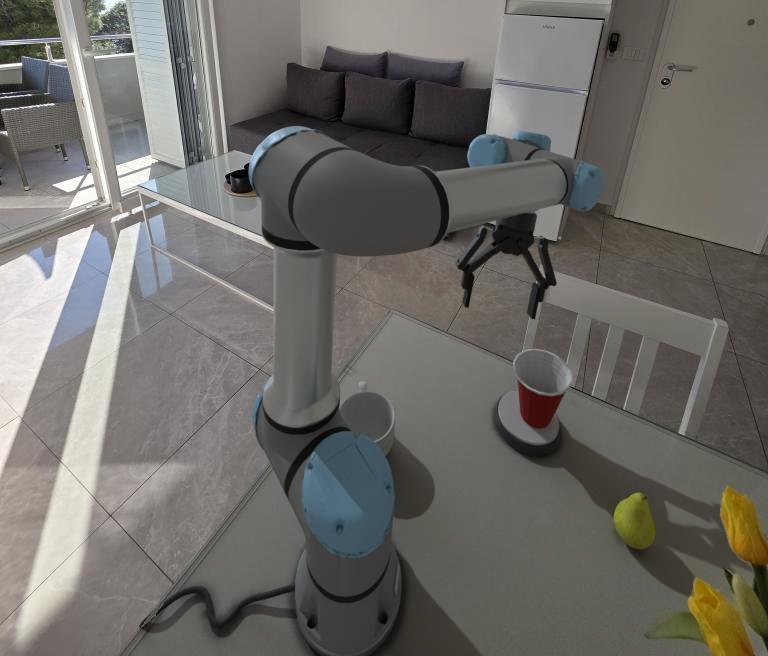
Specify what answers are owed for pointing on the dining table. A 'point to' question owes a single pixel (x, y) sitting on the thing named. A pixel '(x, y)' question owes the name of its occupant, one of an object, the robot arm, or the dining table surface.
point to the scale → (524, 428)
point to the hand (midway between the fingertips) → (498, 310)
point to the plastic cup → (540, 385)
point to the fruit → (635, 521)
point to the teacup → (370, 416)
